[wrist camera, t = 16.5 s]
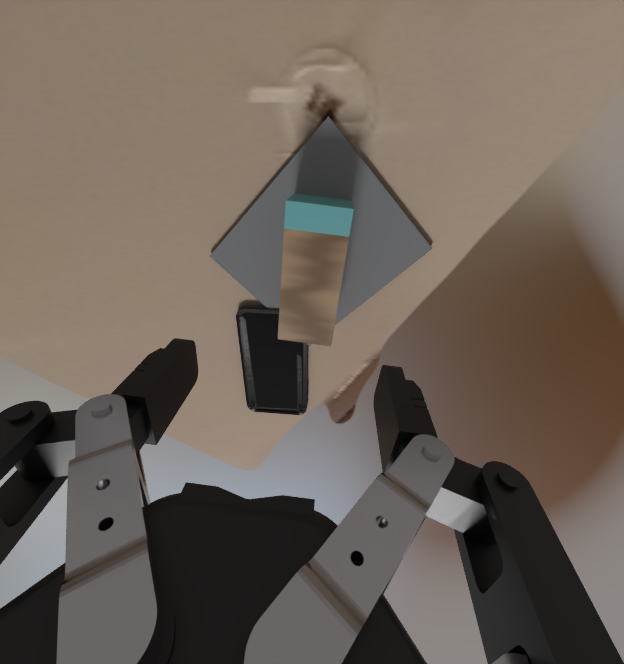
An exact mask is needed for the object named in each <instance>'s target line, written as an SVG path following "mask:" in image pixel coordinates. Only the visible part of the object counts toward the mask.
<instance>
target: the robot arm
mask: <svg viewBox="0 0 624 664" xmlns="http://www.w3.org/2000/svg"><path fill="white" fill-rule="evenodd" d="M197 377H198V364H197V355H196V346H195V342H194V341H193V340H185V339H177V338H175V339H173V340H172V341H171V342H170V343H169V344H168V345H167V347H166V348H165V349H162V348H160V349H158V350H156V351H154V352H153V353H151V354H149V355H148V356H147V357H146V358H145V359H144V360H143V361H142V362H141V364H139V365H138V366H137V367H136V368H135V371H133V372H132V373H131V374H130V375H129V376H128V377H127V378H126V379H125V380H124V381H123V382H122V383H121V384H120V385H119V386H118V387H117V388H116V389H115V390H114V391H113V392H112V393H111V394H106V395H101V396H97V397H95V398H92V399H90V400H88V401H87V402H85V403H84V404H83V405H82V406H80V407H79V409H78V410H71V411H62V412H53V413H52V412H51V411H50V408H49V406H48V405H47V404H46V403H45V402H41V401H29V402H24V403H20V404H17V405H14V406H12V407H9V408H7V409H6V410H4V411H2V412H1V413H0V480H1V479H2V478H3V477H4V476H5V475H6V474H7V473H8V472H9V471H10V470H11V469H12V468H13V467H14V466H15V467H16V468H17V471H16V472H15V473H14V474H13V475H12V476H11V477H10V478H9V479H8V480H7V481H6V482H5V483H4V484H3V485H2V486H1V487H0V564H1V563H2V561H3V560H4V559H5V558H6V557H7V555H8V554H9V553H10V551H11V550H12V549H13V548H14V546H15V545H16V543H17V542H18V541H19V539H21V537H22V536H23V535H24V533H25V532H26V531H27V529H28V528H29V527H30V526H31V524H32V523H33V522H34V520H35V519H36V518H37V517H38V515H39V514H40V513H41V511H42V510H43V509H44V507H45V506H46V505H47V503H48V502H49V501H50V500H51V498H52V497H53V496H54V494H55V493H56V492H57V491H58V489H59V488H60V487H61V485H62V484H63V483H64V481H65V480H66V479H67V478H68V491H67V528H66V529H67V530H66V562H65V563H64V564H63V565H61V566H60V567H58V568H57V569H56V570H54V571H53V572H51V573H50V574H49V575H47V576H46V577H44V578H43V579H41V580H40V581H39V582H37V583H36V584H34V585H33V586H32V587H30V588H29V589H28V590H26V591H25V592H23V593H22V594H21V595H19V596H18V597H16V598H15V599H13V600H12V601H11V602H9V603H8V604H6V605H5V606H4V607H2V608H1V609H0V664H427V663H426V662H425V660H424V658H423V657H422V655H421V654H420V652H419V650H418V649H417V647H416V646H415V644H414V642H413V641H412V639H411V638H410V636H409V635H408V633H407V631H406V630H405V628H404V627H403V625H402V623H401V622H400V620H399V619H398V617H397V616H396V614H395V612H394V611H393V609H392V608H391V606H390V604H389V603H388V601H387V600H386V598H385V596H384V595H383V594H384V593H385V591H386V589H387V587H388V585H389V584H390V582H391V580H392V578H393V576H394V574H395V572H396V571H397V569H398V567H399V565H400V563H401V561H402V560H403V558H404V556H405V554H406V552H407V550H408V549H409V547H410V545H411V543H412V541H413V540H414V538H415V536H416V534H417V532H418V530H419V529H420V527H421V525H422V523H423V522H424V520H425V518H426V516H428V517H430V518H432V519H434V520H436V521H438V522H441V523H443V524H445V525H447V526H449V527H451V528H453V529H454V531H455V535H456V539H457V543H458V547H459V551H460V555H461V559H462V563H463V567H464V571H465V575H466V579H467V583H468V587H469V591H470V595H471V599H472V603H473V607H474V610H475V614H476V618H477V622H478V626H479V630H480V634H481V638H482V642H483V646H484V650H485V654H486V658H487V662H488V664H624V663H623V661H622V659H621V657H620V655H619V653H618V651H617V649H616V648H615V646H614V644H613V642H612V640H611V638H610V636H609V634H608V632H607V631H606V628H605V626H604V625H603V623H602V621H601V619H600V617H599V615H598V613H597V611H596V609H595V608H594V606H593V603H592V602H591V600H590V598H589V596H588V594H587V592H586V590H585V588H584V586H583V584H582V582H581V581H580V579H579V577H578V575H577V573H576V571H575V569H574V567H573V565H572V563H571V561H570V559H569V558H568V556H567V554H566V552H565V550H564V548H563V546H562V544H561V542H560V541H559V538H558V537H557V535H556V533H555V531H554V529H553V527H552V525H551V523H550V521H549V519H548V517H547V515H546V513H545V512H544V510H543V508H542V506H541V504H540V502H539V500H538V498H537V496H536V494H535V492H534V491H533V489H532V487H531V485H530V483H529V482H528V480H527V479H526V478H525V477H524V476H523V475H522V474H521V473H520V472H519V471H517V470H516V469H514V468H512V467H511V466H509V465H507V464H504V463H501V462H497V461H491V462H488V463H486V464H485V465H484V466H483V468H479V467H476V466H474V465H472V464H469V463H466V462H464V461H462V460H459V459H458V458H456V457H454V455H453V452H452V451H451V449H450V448H449V447H448V445H447V444H445V443H444V442H443V441H441V440H440V439H438V437H437V434H436V431H435V428H434V426H433V423H432V420H431V417H430V414H429V411H428V409H427V406H426V403H425V401H424V397H423V394H422V391H421V389H420V388H419V387H418V386H417V385H416V384H415V383H414V381H412V380H405V377H404V373H403V370H402V368H401V367H396V366H388V365H383V366H382V368H381V372H380V375H379V379H378V383H377V387H376V390H375V395H374V412H375V419H376V426H377V434H378V441H379V447H380V455H381V462H382V469H383V473H381V474H379V476H378V477H377V478H376V479H375V480H374V482H373V483H372V484H371V485H370V487H369V488H368V489H367V490H366V492H365V493H364V494H363V495H362V497H361V498H360V499H359V500H358V502H357V503H356V504H355V505H354V507H353V508H352V509H351V510H350V512H349V513H348V514H347V515H346V517H345V518H344V519H343V520H342V522H341V523H340V524H339V525H338V526H337V525H336V524H335V523H334V522H333V521H332V520H330V519H329V518H328V517H326V516H324V515H322V514H321V513H319V512H317V511H315V510H314V501H315V500H314V499H306V498H298V497H291V496H283V495H282V496H274V497H266V498H258V499H245V498H243V497H240V496H238V495H236V494H233V493H231V492H229V491H226V490H224V489H222V488H219V487H216V486H208V485H201V484H194V483H186V484H185V486H184V488H183V490H182V492H181V493H178V494H173V495H169V496H166V497H163V498H161V499H158V500H156V501H154V502H152V503H150V499H149V495H148V490H147V485H146V479H145V474H144V469H143V464H142V459H141V454H140V449H141V448H142V446H143V445H144V443H145V444H153V445H157V443H158V442H159V440H160V438H161V437H162V435H163V434H164V432H165V431H166V429H167V427H168V426H169V424H170V423H171V421H172V419H173V418H174V416H175V415H176V413H177V412H178V410H179V408H180V407H181V405H182V404H183V402H184V401H185V399H186V397H187V396H188V394H189V393H190V391H191V389H192V388H193V386H194V385H195V383H196V380H197Z"/></svg>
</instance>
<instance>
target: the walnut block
mask: <svg viewBox="0 0 624 664" xmlns="http://www.w3.org/2000/svg"><path fill="white" fill-rule="evenodd" d="M353 211H354V208H353V203H352V201H351V200H344V199H336V198H328V197H320V196H312V195H304V194H297V193H295V194H293V195H292V196H291V197H289V198H288V199H287V200H286V206H285V223H284V240H283V257H282V274H281V291H280V308H279V325H278V339H280V340H288V341H295V342H302V343H310V344H317V345H324V346H331V343H332V337H333V331H334V325H335V319H336V313H337V307H338V301H339V295H340V289H341V283H342V277H343V271H344V265H345V259H346V253H347V247H348V241H349V235H350V229H351V223H352V217H353Z"/></svg>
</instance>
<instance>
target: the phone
mask: <svg viewBox="0 0 624 664" xmlns="http://www.w3.org/2000/svg"><path fill="white" fill-rule="evenodd" d="M236 320H237V328H238V337H239V345H240V353H241V361H242V369H243V377H244V385H245V393H246V401H247V406H248V408H249V409H250V410H252V411H255V412H266V413H279V414H293V415H301V414H304V413H305V412H306V409H307V402H308V398H307V395H308V388H307V387H308V381H307V361H308V344H307V343H302V342H295V341H288V340H280V339H278V325H279V309H268V308H267V307H265V306H243V307H241V308H240V309H239V311H238V312H237V314H236Z"/></svg>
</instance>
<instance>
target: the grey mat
mask: <svg viewBox="0 0 624 664" xmlns="http://www.w3.org/2000/svg"><path fill="white" fill-rule="evenodd" d="M295 193H297V194H304V195H312V196H320V197H328V198H336V199H344V200H351V201H352V203H353V208H354V211H353V217H352V223H351V229H350V235H349V241H348V247H347V253H346V259H345V265H344V271H343V277H342V283H341V289H340V295H339V301H338V307H337V313H336V319H335V325H336V324H337V323H338V322H340V321H341V320H342V319H344V318H345V317H346V316H347V315H349V314H350V313H351V312H352V311H354V310H355V309H356V308H357V307H359V306H360V305H361V304H363V303H364V302H365V301H366V300H368V299H369V298H370V297H371V296H373V295H374V294H375V293H376V292H378V291H379V290H380V289H382V288H383V287H384V286H385V285H387V284H388V283H389V282H390V281H392V280H393V279H394V278H395V277H397V276H398V275H399V274H401V273H402V272H403V271H404V270H406V269H407V268H408V267H409V266H411V265H412V264H413V263H414V262H416V261H417V260H418V259H420V258H421V257H422V256H423V255H425V254H426V253H427V252H428V251H430V250H431V249H432V247H431V246H430V245H429V244H428V242H427V241H426V240H425V238H424V237H423V236H422V235H421V233H420V232H419V231H418V230H417V228H416V227H415V226H414V224H413V223H412V222H411V221H410V219H409V218H408V217H407V216H406V214H405V213H404V212H403V210H402V209H401V208H400V207H399V205H398V204H397V203H396V202H395V200H394V199H393V198H392V196H391V195H390V194H389V193H388V191H387V190H386V189H385V188H384V186H383V185H382V184H381V182H380V181H379V180H378V179H377V177H376V176H375V175H374V174H373V172H372V171H371V170H370V168H369V167H368V166H367V165H366V163H365V162H364V161H363V160H362V158H361V157H360V156H359V154H358V153H357V152H356V151H355V149H354V148H353V147H352V146H351V144H350V143H349V142H348V141H347V139H346V138H345V137H344V135H343V134H342V133H341V132H340V130H339V129H338V128H337V127H336V125H335V124H334V123H333V121H332V120H331V119H330V118H329V116H328V117H327V119H326V120H325V121H324V122H323V123H322V124H321V126H320V127H319V128H318V129H317V130H316V131H315V133H314V134H313V135H312V136H311V137H310V139H309V140H308V141H307V142H306V143H305V144H304V146H303V147H302V148H301V149H300V150H299V151H298V153H297V154H296V155H295V156H294V157H293V159H292V160H291V161H290V162H289V163H288V164H287V166H286V167H285V168H284V169H283V170H282V171H281V173H280V174H279V175H278V176H277V177H276V178H275V180H274V181H273V182H272V183H271V184H270V186H269V187H268V188H267V189H266V190H265V191H264V193H263V194H262V195H261V196H260V197H259V198H258V200H257V201H256V202H255V203H254V204H253V206H252V207H251V208H250V209H249V210H248V211H247V213H246V214H245V215H244V216H243V217H242V218H241V220H240V221H239V222H238V223H237V224H236V226H235V227H234V228H233V229H232V230H231V231H230V233H229V234H228V235H227V236H226V237H225V238H224V240H223V241H222V242H221V243H220V244H219V246H218V247H217V248H216V249H215V250H214V251H213V253H212V254H211V255H210V257H211V258H212V259H214V260H215V261H216V262H217V263H218V264H219V265H220V266H221V267H222V268H224V269H225V270H226V271H227V272H228V273H229V274H230V275H231V276H232V277H233V278H235V279H236V280H237V281H238V282H239V283H240V284H241V285H242V286H243V287H245V288H246V289H247V290H248V291H249V292H250V293H251V294H252V295H253V296H254V297H256V298H257V299H258V300H259V301H260V302H261V303H262V304H263V305H264V306H266V307H267V308H268V309H279V308H280V291H281V274H282V257H283V240H284V223H285V206H286V200H287V199H288V198H289V197H291V196H292V195H293V194H295ZM335 325H334V326H335ZM307 344H308V345H311V344H310V343H307Z"/></svg>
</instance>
